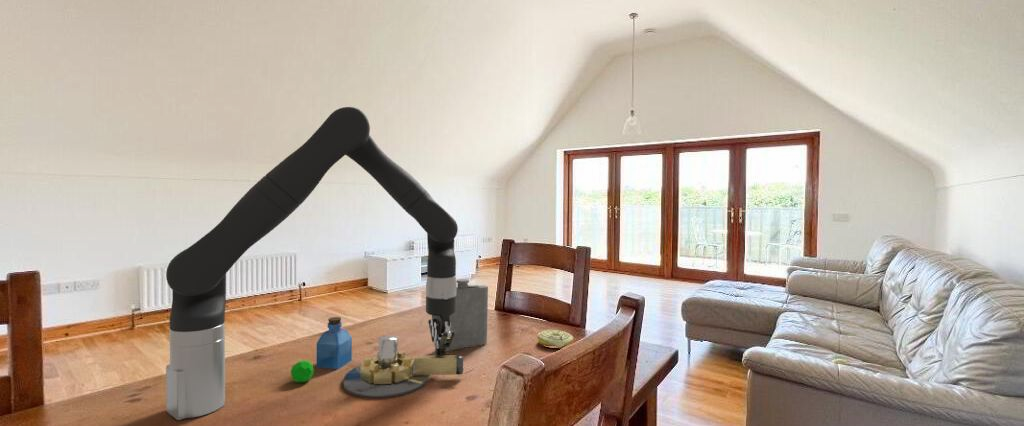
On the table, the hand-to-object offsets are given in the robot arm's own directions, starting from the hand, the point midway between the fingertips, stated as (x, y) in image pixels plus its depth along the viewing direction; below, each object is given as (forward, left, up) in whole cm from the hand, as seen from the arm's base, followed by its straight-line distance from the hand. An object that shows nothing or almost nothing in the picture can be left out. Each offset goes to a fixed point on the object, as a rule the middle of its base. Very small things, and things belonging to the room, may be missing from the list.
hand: (440, 361), depth 112 cm
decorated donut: (+38, -12, -4) cm, 40 cm away
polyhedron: (-23, +22, -3) cm, 33 cm away
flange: (-10, +7, -3) cm, 13 cm away
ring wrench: (-6, +3, -2) cm, 7 cm away
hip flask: (+19, +9, -3) cm, 21 cm away
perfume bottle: (-12, +26, -3) cm, 29 cm away
